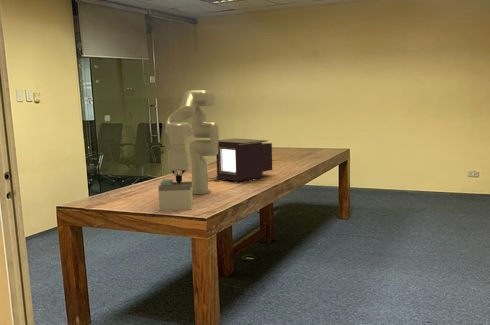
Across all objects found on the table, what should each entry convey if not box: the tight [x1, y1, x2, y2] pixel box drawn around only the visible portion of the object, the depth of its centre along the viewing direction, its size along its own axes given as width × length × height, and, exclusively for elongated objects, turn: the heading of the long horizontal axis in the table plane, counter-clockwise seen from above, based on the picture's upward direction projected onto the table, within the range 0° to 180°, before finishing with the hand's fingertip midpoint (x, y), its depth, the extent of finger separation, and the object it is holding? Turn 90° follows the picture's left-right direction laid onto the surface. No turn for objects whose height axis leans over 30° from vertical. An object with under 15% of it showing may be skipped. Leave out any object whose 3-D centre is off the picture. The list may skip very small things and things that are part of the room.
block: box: [157, 180, 194, 211], centre depth 238 cm, size 12×16×12 cm
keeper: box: [160, 178, 174, 186], centre depth 237 cm, size 9×5×2 cm, turn 2°
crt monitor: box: [215, 138, 273, 184], centre depth 322 cm, size 35×35×27 cm
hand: (179, 182), depth 237 cm, fingers closed
